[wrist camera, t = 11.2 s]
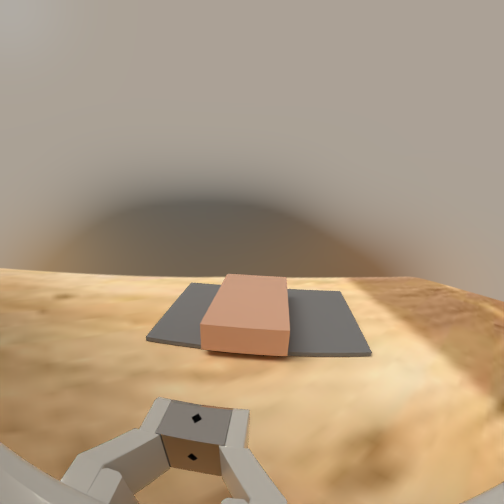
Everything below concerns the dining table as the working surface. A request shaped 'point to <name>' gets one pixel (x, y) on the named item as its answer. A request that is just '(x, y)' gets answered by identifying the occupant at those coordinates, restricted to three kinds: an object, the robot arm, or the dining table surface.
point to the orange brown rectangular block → (248, 316)
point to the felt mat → (300, 316)
